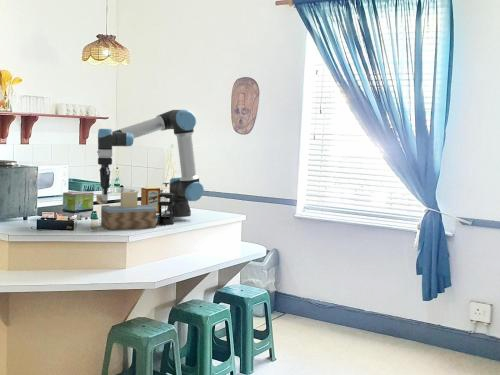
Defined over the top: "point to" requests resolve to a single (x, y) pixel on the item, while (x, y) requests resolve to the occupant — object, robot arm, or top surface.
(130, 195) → the lid
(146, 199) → the baking soda box
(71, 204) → the tea box
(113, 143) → the robot arm
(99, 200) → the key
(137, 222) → the brown woven basket
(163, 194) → the french press
